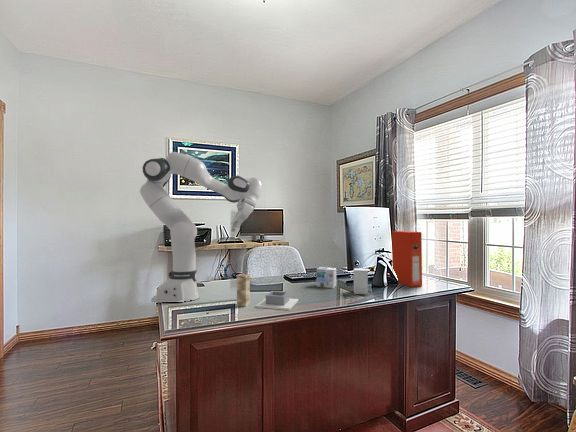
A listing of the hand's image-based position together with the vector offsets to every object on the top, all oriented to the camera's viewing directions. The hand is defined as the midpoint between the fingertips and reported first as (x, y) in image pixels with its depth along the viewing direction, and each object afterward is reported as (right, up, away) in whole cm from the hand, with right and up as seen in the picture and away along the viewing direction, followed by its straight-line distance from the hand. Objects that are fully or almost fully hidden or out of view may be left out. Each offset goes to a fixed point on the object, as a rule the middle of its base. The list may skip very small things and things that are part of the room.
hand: (235, 229), depth 152 cm
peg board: (+22, -35, -8) cm, 42 cm away
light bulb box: (+49, -35, +29) cm, 67 cm away
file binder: (+99, -35, +35) cm, 111 cm away
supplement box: (+66, -35, +13) cm, 76 cm away
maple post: (+6, -35, -10) cm, 37 cm away
